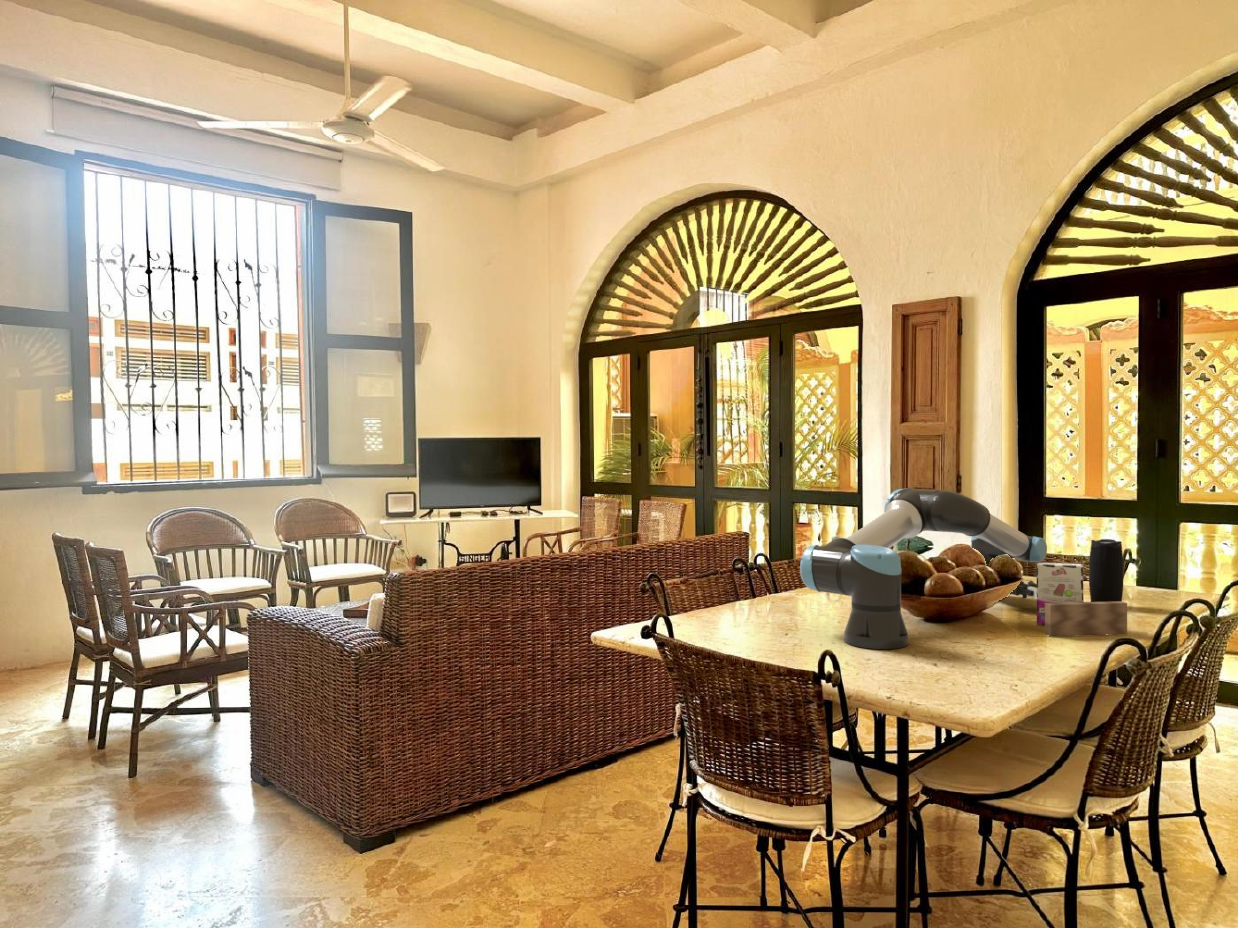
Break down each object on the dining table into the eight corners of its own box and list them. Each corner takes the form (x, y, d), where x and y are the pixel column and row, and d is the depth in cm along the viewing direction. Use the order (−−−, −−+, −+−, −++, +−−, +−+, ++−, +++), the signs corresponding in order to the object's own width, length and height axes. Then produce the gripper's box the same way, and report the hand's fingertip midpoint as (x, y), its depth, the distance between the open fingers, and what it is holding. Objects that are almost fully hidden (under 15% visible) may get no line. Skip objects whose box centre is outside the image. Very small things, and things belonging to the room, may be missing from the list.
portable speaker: (1087, 607, 253) (1087, 541, 252) (1092, 602, 260) (1092, 537, 260) (1120, 610, 247) (1120, 542, 247) (1125, 605, 255) (1125, 539, 255)
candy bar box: (1083, 625, 230) (1083, 563, 229) (1083, 628, 225) (1084, 566, 225) (1036, 621, 235) (1037, 561, 235) (1036, 624, 231) (1036, 563, 230)
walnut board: (1050, 636, 217) (1050, 604, 217) (1044, 634, 219) (1044, 603, 219) (1127, 634, 218) (1127, 603, 218) (1120, 632, 221) (1120, 601, 220)
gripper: (1020, 593, 263) (1065, 608, 239) (978, 594, 262) (1020, 609, 238) (1020, 568, 262) (1065, 581, 239) (978, 569, 262) (1020, 582, 238)
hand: (1042, 595), depth 239 cm, fingers closed
